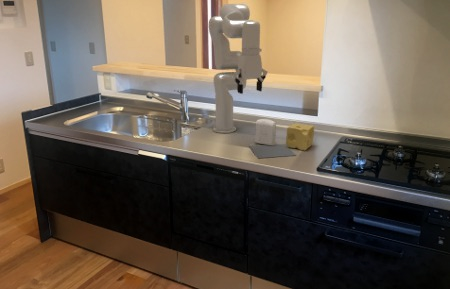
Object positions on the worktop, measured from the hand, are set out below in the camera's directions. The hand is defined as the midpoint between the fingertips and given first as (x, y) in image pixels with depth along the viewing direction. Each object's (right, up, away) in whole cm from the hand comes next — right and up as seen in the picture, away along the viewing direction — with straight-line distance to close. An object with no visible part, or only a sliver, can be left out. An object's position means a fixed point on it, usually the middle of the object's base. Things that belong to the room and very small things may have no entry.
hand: (249, 91), depth 175 cm
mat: (+11, -26, +14) cm, 32 cm away
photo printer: (+9, -23, +24) cm, 34 cm away
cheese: (+25, -24, +20) cm, 40 cm away
